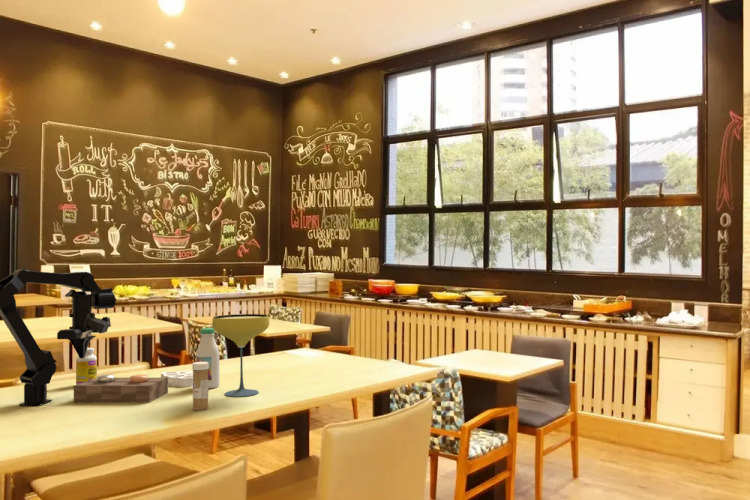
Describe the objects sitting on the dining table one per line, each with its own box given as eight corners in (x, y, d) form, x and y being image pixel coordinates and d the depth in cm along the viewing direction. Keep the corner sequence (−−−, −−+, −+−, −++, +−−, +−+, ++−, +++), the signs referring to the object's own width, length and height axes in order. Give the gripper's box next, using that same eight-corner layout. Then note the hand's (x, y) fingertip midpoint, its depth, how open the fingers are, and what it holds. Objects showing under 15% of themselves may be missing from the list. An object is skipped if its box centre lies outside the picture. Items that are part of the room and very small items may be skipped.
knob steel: (109, 394, 193) (109, 377, 193) (93, 394, 193) (93, 377, 193) (117, 391, 198) (117, 374, 198) (101, 391, 198) (101, 374, 199)
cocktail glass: (210, 390, 204) (209, 315, 205) (264, 386, 210) (263, 313, 211) (216, 401, 187) (215, 319, 188) (275, 396, 193) (274, 317, 194)
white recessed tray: (213, 383, 219) (175, 390, 208) (188, 377, 231) (151, 383, 220) (213, 374, 219) (175, 380, 208) (188, 368, 231) (150, 374, 221)
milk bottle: (210, 383, 216) (210, 326, 217) (224, 386, 211) (223, 328, 212) (191, 387, 210) (191, 328, 211) (205, 390, 205) (204, 330, 206)
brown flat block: (149, 402, 187) (149, 386, 188) (73, 402, 189) (73, 386, 189) (167, 392, 201) (167, 377, 202) (97, 392, 203) (97, 377, 203)
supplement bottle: (88, 387, 213) (88, 350, 213) (71, 386, 214) (71, 349, 215) (100, 383, 219) (100, 347, 220) (84, 383, 221) (84, 347, 221)
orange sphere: (143, 394, 192) (143, 377, 192) (127, 394, 192) (127, 377, 193) (150, 391, 197) (150, 374, 197) (134, 391, 198) (134, 374, 198)
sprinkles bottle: (189, 409, 178) (189, 362, 178) (203, 406, 181) (202, 360, 182) (198, 411, 175) (198, 364, 175) (212, 408, 178) (211, 362, 179)
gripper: (90, 312, 190) (90, 362, 190) (119, 308, 209) (119, 354, 208) (56, 312, 191) (56, 363, 191) (88, 308, 209) (88, 354, 209)
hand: (82, 358), depth 200 cm, fingers closed
